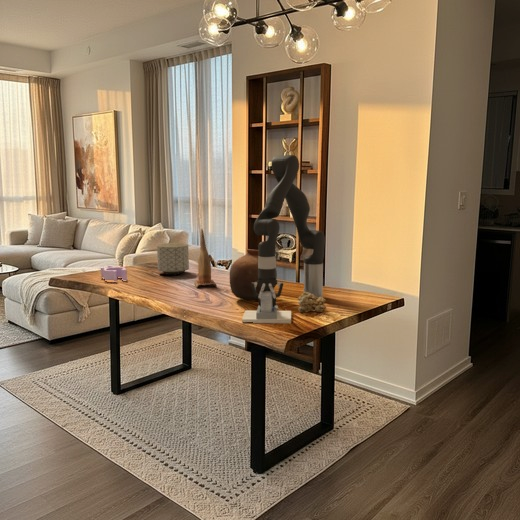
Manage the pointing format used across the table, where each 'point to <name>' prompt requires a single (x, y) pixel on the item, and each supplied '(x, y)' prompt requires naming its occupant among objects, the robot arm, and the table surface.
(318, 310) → the mineral formation
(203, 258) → the brown spire tower
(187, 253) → the planter
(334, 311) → the table surface
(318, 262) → the robot arm
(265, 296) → the medicine box
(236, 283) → the pottery
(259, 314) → the holder
